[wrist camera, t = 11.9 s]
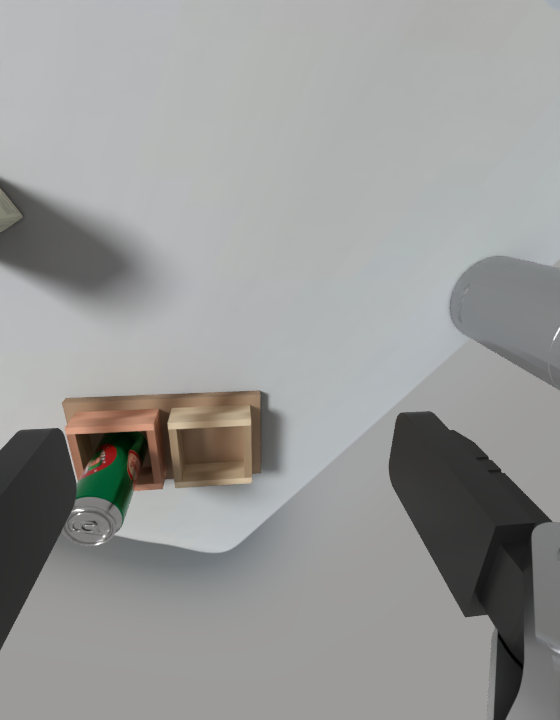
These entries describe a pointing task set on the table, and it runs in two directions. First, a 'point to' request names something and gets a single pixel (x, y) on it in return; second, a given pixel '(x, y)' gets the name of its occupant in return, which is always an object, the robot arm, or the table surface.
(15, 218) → the skincare box
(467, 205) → the table surface
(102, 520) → the soda can
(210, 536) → the table surface
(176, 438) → the can rack
